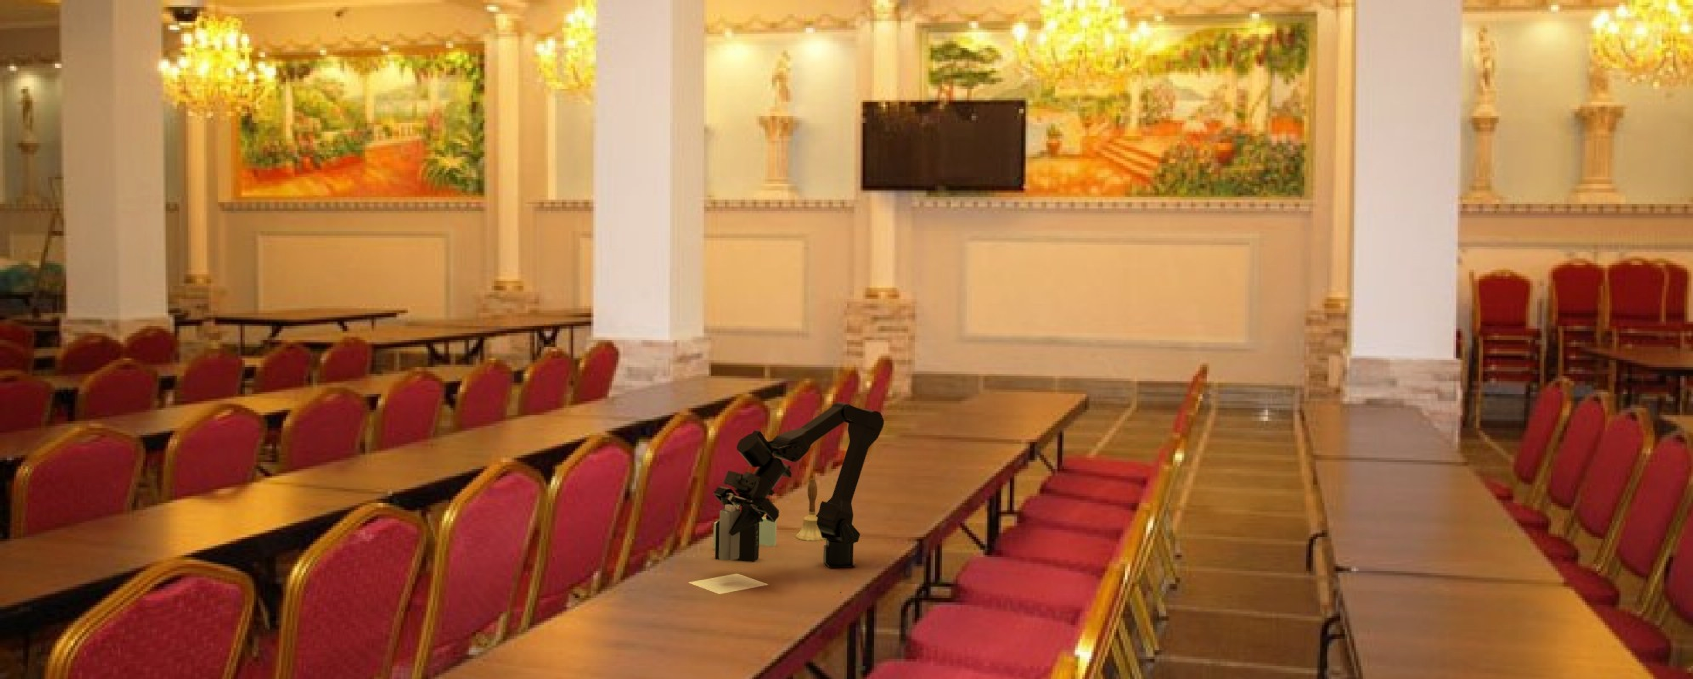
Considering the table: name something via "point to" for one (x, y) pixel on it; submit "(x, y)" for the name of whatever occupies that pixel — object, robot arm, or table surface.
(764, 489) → the robot arm
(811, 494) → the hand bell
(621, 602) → the table surface
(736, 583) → the mat
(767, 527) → the l-shaped corner panel
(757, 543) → the electronic device
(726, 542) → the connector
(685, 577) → the table surface
